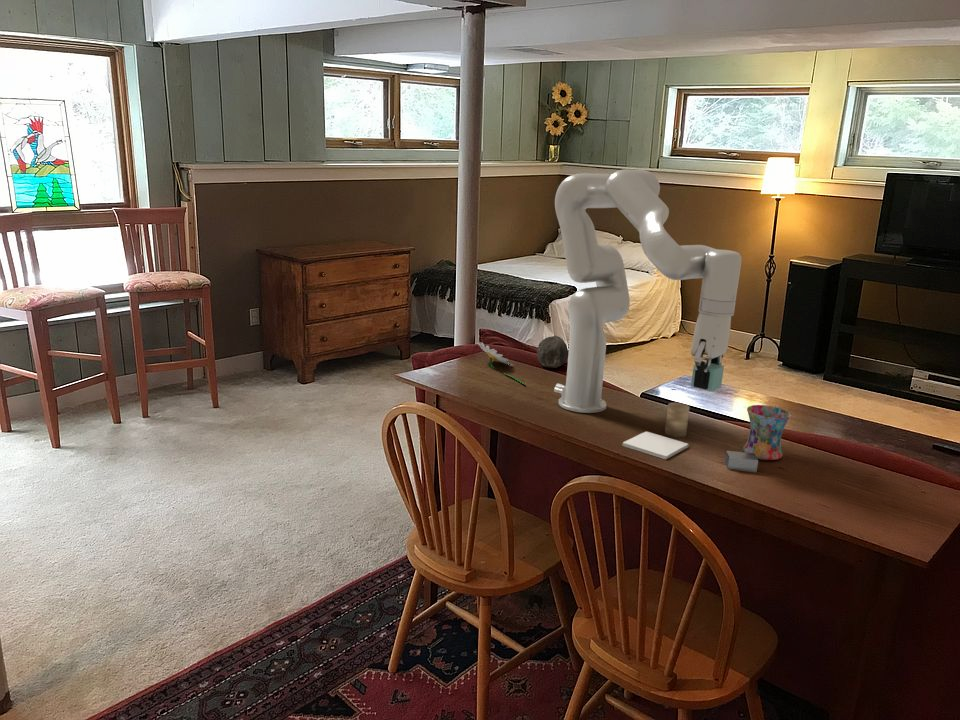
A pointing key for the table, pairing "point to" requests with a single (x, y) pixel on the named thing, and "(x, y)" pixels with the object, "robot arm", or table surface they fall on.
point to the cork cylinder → (677, 419)
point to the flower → (495, 357)
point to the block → (712, 377)
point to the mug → (766, 431)
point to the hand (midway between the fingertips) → (705, 384)
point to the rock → (552, 352)
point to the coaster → (655, 445)
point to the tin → (741, 461)
